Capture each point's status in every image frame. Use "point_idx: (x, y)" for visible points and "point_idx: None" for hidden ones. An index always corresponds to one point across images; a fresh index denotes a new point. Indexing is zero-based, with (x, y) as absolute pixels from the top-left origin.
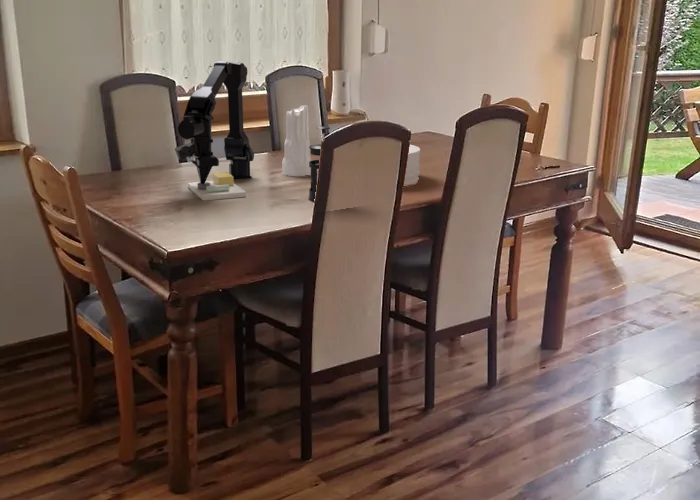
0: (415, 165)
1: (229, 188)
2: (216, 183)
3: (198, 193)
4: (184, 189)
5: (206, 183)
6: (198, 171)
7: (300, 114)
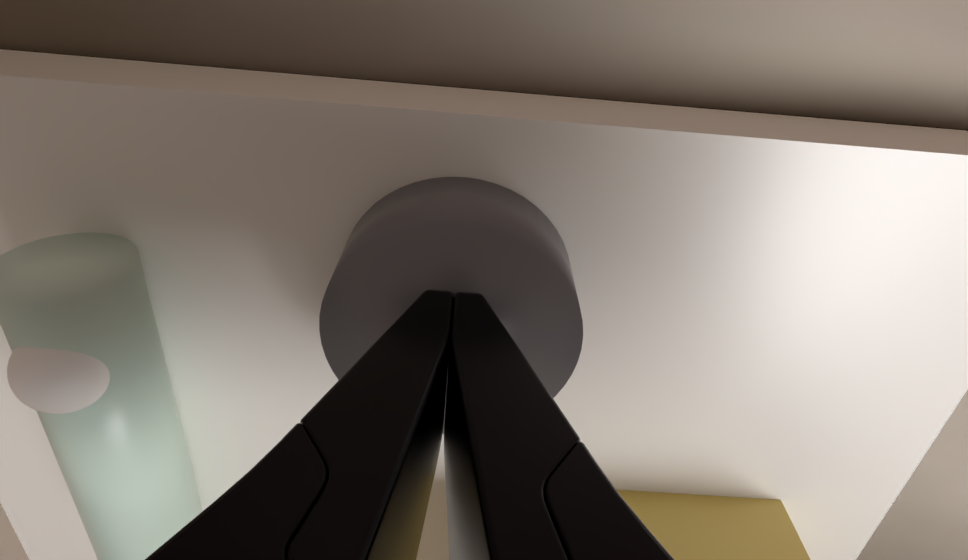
0: None
1: None
2: None
3: (149, 80)
4: (956, 21)
5: None
6: (480, 490)
7: None
